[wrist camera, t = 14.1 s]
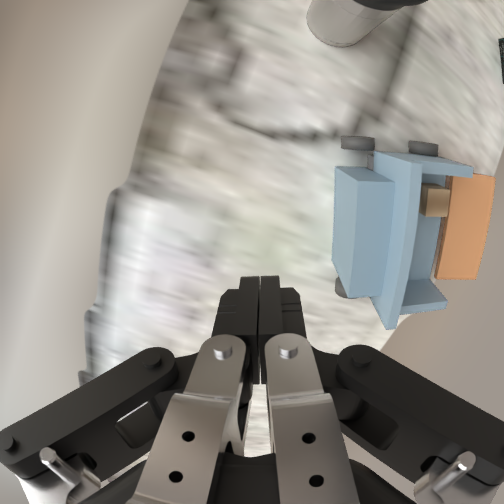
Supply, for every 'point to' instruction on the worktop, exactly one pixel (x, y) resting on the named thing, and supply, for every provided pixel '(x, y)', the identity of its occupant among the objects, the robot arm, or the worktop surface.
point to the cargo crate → (434, 200)
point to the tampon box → (502, 55)
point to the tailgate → (465, 227)
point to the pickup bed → (388, 228)
